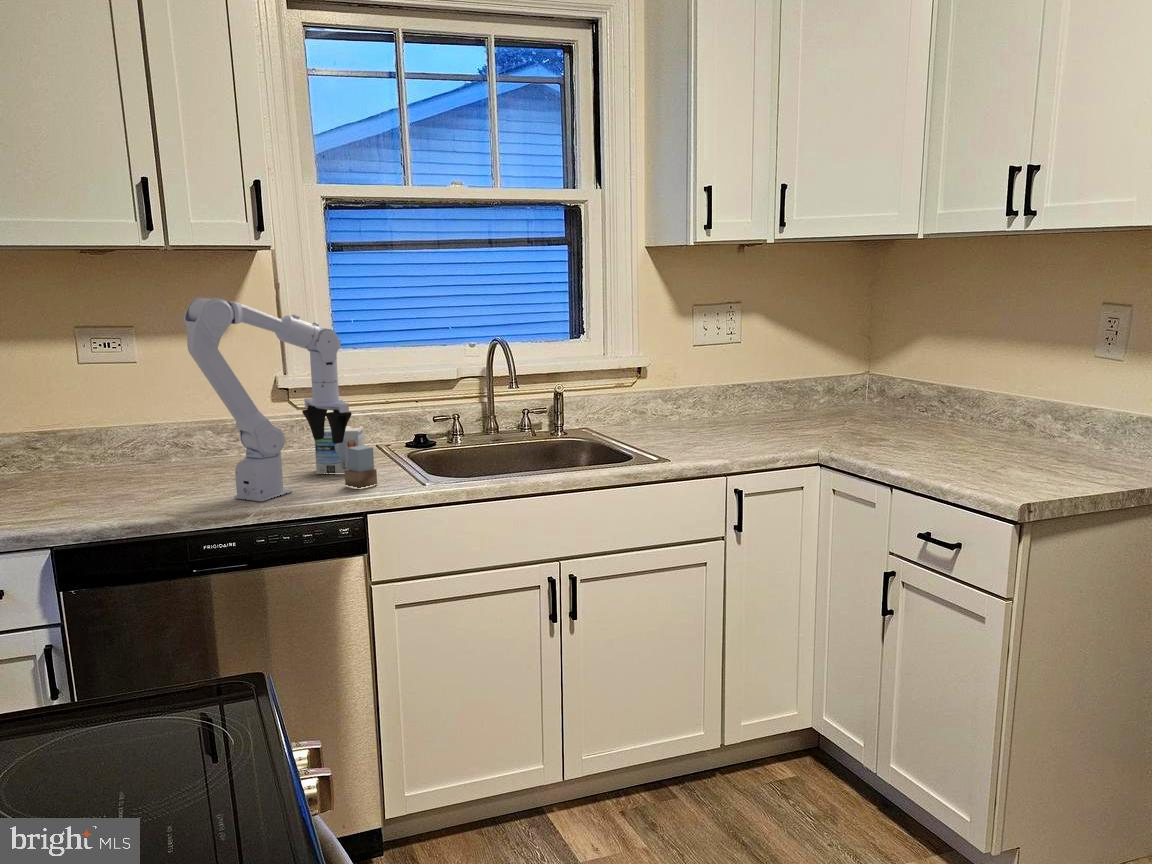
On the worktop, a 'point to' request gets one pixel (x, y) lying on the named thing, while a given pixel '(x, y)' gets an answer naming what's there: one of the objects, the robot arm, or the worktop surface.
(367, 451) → the slate block
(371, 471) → the walnut block
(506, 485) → the worktop surface
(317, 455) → the light bulb box
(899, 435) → the worktop surface
